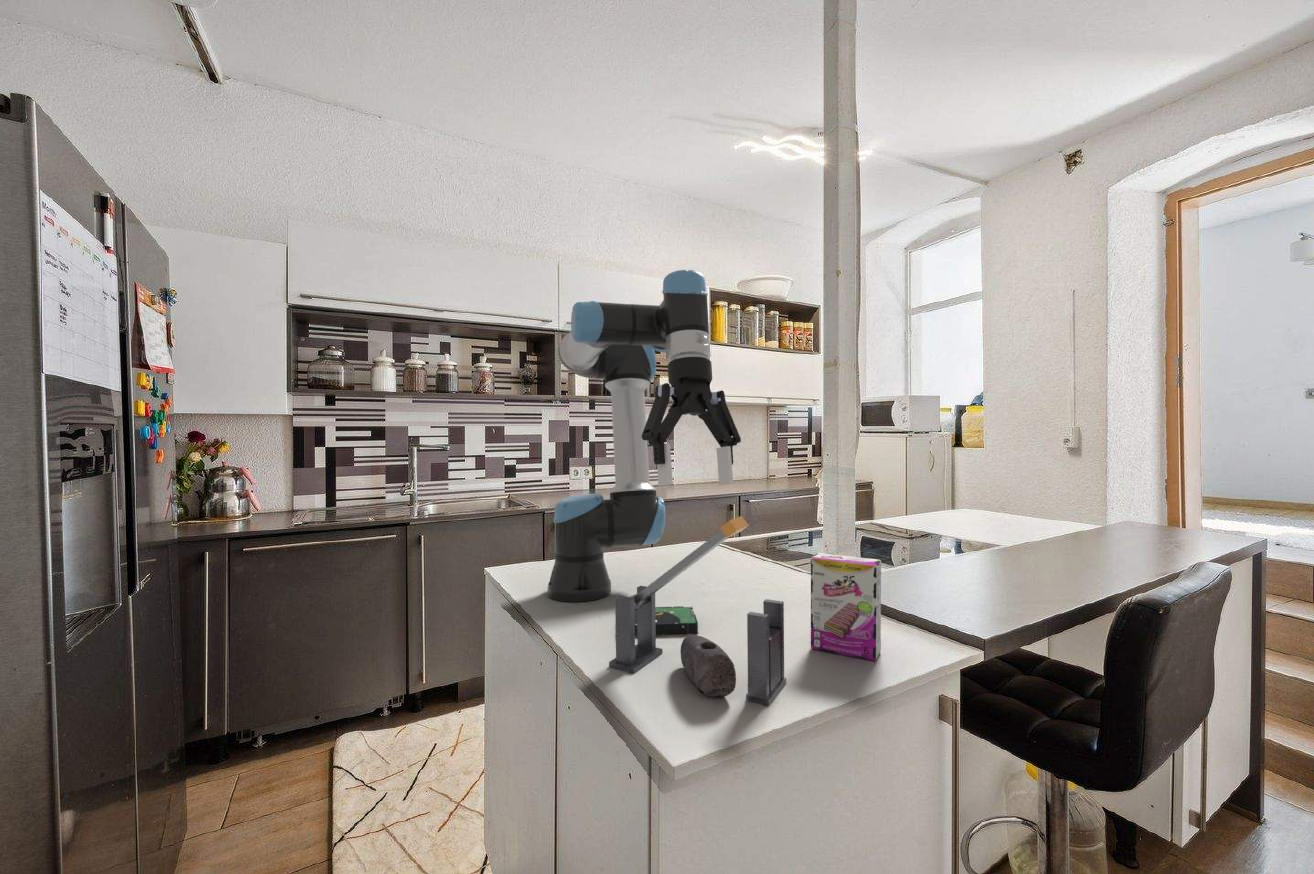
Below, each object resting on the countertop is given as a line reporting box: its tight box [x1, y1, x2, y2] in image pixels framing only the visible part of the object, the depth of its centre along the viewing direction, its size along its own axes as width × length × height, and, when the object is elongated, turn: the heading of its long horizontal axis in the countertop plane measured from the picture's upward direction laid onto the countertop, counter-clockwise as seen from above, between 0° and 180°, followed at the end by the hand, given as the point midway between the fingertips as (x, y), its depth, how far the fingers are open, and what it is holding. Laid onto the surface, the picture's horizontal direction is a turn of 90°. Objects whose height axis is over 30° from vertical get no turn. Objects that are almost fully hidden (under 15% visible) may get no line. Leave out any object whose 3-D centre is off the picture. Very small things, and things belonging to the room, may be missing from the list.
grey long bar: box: [630, 515, 749, 609], centre depth 88 cm, size 5×25×2 cm
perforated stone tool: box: [680, 634, 737, 698], centre depth 85 cm, size 15×5×7 cm, turn 17°
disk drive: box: [635, 605, 699, 637], centre depth 110 cm, size 10×3×15 cm
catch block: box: [745, 598, 787, 707], centre depth 81 cm, size 8×3×12 cm, turn 149°
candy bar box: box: [810, 552, 882, 662], centre depth 96 cm, size 11×5×16 cm, turn 59°
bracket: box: [608, 585, 664, 674], centre depth 93 cm, size 9×5×12 cm, turn 149°
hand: (697, 485), depth 91 cm, fingers open, 13 cm apart
